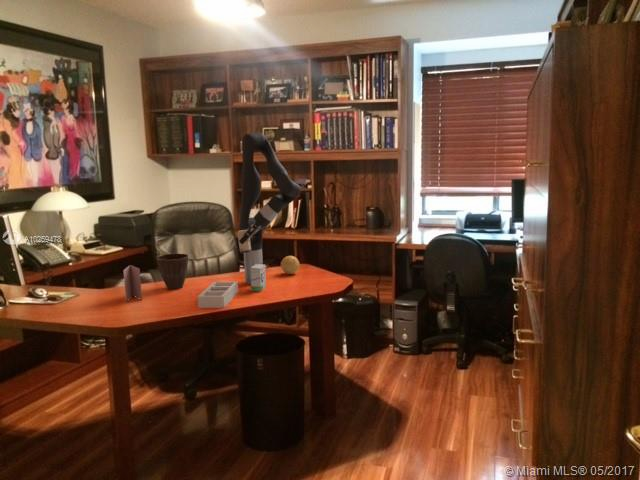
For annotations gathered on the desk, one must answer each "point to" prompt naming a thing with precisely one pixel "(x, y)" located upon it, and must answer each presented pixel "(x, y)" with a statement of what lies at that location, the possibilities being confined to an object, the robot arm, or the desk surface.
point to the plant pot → (173, 270)
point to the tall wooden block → (247, 244)
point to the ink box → (258, 277)
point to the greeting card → (132, 282)
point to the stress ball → (290, 264)
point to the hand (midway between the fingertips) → (242, 241)
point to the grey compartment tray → (217, 295)
